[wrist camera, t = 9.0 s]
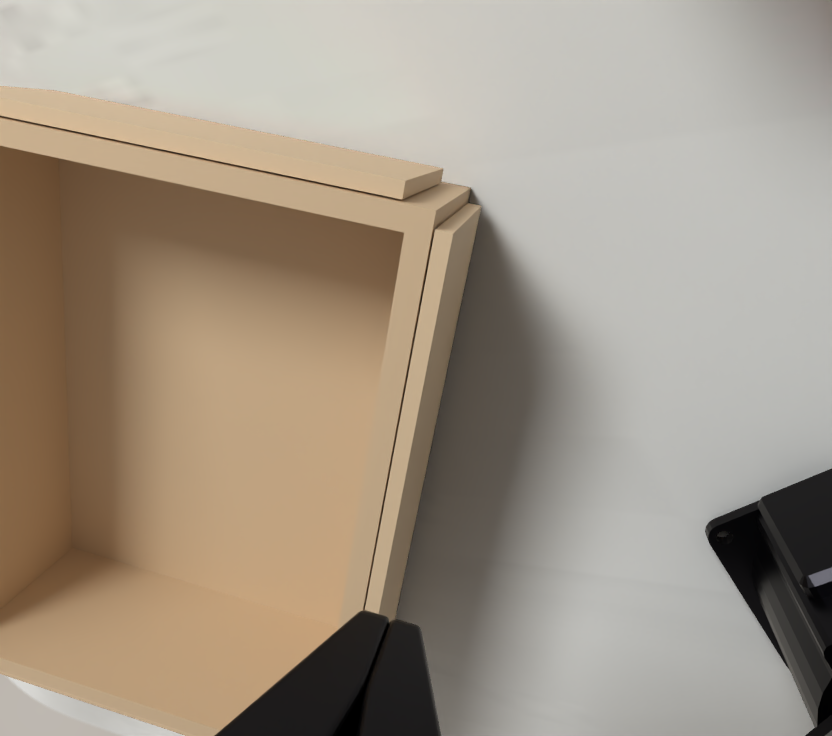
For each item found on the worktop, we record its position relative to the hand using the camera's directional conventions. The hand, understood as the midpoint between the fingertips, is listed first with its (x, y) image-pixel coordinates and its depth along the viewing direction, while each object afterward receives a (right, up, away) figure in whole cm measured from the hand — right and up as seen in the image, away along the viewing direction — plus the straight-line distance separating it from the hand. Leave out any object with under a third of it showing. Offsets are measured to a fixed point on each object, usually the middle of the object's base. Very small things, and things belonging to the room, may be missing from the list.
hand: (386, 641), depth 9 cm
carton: (-6, +3, +15) cm, 16 cm away
